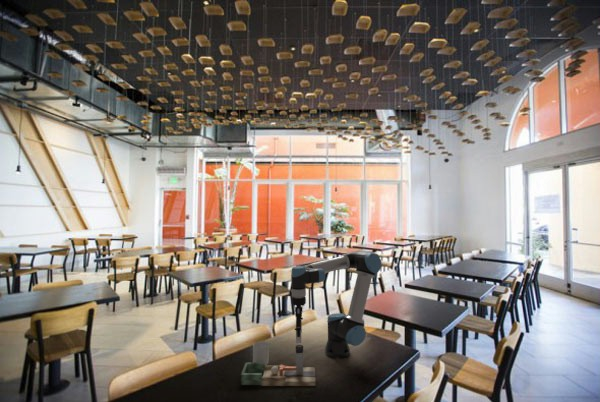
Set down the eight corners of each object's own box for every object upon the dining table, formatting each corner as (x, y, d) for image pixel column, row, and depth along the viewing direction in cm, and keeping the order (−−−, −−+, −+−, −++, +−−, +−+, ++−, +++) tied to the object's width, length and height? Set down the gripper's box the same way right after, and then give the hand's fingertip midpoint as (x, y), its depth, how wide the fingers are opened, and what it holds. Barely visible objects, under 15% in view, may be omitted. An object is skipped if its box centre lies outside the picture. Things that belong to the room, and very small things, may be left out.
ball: (278, 372, 154) (278, 364, 154) (278, 376, 150) (278, 368, 150) (271, 372, 154) (271, 364, 154) (270, 376, 150) (270, 368, 150)
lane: (314, 371, 158) (314, 361, 159) (315, 385, 144) (315, 375, 145) (246, 371, 159) (246, 361, 159) (240, 385, 145) (240, 375, 145)
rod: (303, 370, 154) (303, 344, 155) (303, 375, 149) (303, 348, 150) (280, 370, 154) (280, 344, 155) (279, 375, 149) (279, 348, 150)
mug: (269, 367, 163) (269, 347, 164) (253, 369, 161) (253, 348, 161) (266, 357, 174) (266, 338, 175) (251, 359, 172) (252, 340, 173)
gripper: (292, 290, 167) (292, 328, 165) (290, 303, 142) (290, 347, 141) (305, 290, 167) (306, 328, 165) (305, 303, 142) (306, 347, 140)
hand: (298, 337), depth 153 cm, fingers open, 13 cm apart
